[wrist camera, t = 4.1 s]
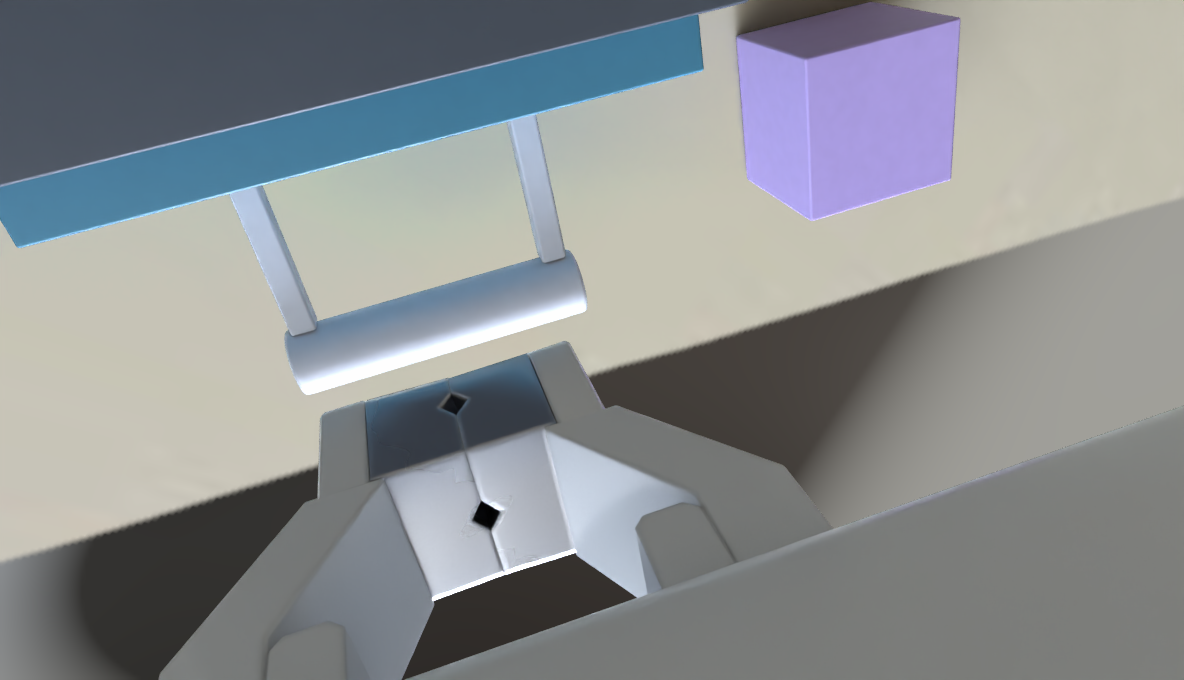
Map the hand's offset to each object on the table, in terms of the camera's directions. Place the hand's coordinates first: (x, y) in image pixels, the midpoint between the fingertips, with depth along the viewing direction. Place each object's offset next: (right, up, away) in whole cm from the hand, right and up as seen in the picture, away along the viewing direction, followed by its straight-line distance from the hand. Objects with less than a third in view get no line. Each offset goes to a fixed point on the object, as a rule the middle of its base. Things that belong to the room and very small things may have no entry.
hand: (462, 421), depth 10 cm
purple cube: (+8, +9, +15) cm, 19 cm away
